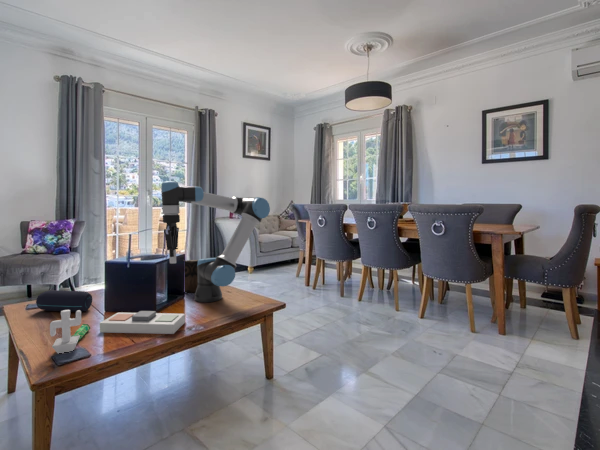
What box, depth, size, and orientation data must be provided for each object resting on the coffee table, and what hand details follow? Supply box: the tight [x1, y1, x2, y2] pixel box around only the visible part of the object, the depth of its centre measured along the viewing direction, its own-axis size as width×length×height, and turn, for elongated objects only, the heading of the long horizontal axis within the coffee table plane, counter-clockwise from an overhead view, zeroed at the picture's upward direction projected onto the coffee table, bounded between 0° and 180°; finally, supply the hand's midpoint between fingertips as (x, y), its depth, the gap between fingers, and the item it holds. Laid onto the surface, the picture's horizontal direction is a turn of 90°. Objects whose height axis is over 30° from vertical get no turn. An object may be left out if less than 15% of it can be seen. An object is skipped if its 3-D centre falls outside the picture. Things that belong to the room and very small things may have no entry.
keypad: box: [99, 311, 186, 335], centre depth 141 cm, size 13×31×4 cm, turn 89°
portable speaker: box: [35, 289, 93, 313], centre depth 160 cm, size 25×10×10 cm, turn 86°
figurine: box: [49, 310, 82, 355], centre depth 118 cm, size 7×9×15 cm
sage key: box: [155, 315, 178, 322], centre depth 140 cm, size 7×7×3 cm
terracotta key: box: [109, 314, 134, 321], centre depth 141 cm, size 7×7×3 cm
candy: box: [71, 323, 91, 343], centre depth 130 cm, size 12×3×4 cm
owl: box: [184, 259, 199, 294], centre depth 196 cm, size 13×13×20 cm
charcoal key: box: [132, 310, 157, 322], centre depth 140 cm, size 7×7×3 cm
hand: (173, 263), depth 155 cm, fingers closed
